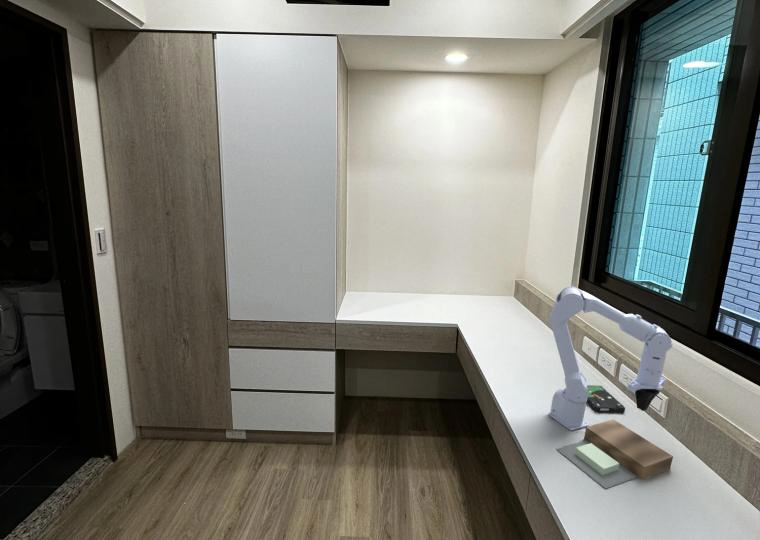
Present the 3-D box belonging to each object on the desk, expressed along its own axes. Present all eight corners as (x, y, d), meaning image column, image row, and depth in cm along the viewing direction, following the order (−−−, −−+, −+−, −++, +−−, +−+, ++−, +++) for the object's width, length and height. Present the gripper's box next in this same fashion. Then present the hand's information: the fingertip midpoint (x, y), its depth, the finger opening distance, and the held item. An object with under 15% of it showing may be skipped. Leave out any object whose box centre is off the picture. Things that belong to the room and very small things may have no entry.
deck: (583, 438, 123) (586, 427, 122) (611, 430, 128) (613, 419, 127) (641, 479, 107) (644, 466, 106) (670, 468, 112) (673, 456, 111)
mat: (556, 449, 117) (556, 448, 117) (585, 440, 122) (586, 439, 122) (605, 489, 103) (605, 488, 103) (636, 477, 108) (637, 476, 108)
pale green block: (590, 443, 117) (589, 449, 118) (575, 447, 115) (574, 453, 115) (619, 463, 109) (618, 469, 110) (604, 468, 107) (602, 475, 107)
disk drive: (624, 415, 138) (599, 391, 152) (626, 407, 137) (600, 384, 152) (595, 414, 137) (572, 391, 152) (597, 407, 137) (574, 384, 151)
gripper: (648, 377, 113) (638, 420, 116) (680, 370, 119) (670, 411, 122) (624, 366, 119) (615, 407, 122) (656, 360, 125) (647, 399, 128)
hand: (641, 408), depth 122 cm, fingers closed
